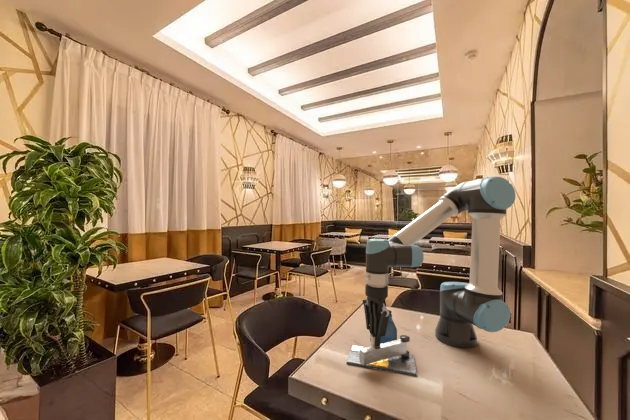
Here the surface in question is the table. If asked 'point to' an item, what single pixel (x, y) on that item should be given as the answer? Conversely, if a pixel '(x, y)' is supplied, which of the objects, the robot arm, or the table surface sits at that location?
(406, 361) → the tray
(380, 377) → the table surface
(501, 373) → the table surface
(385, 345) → the swing arm
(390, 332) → the perfume bottle
